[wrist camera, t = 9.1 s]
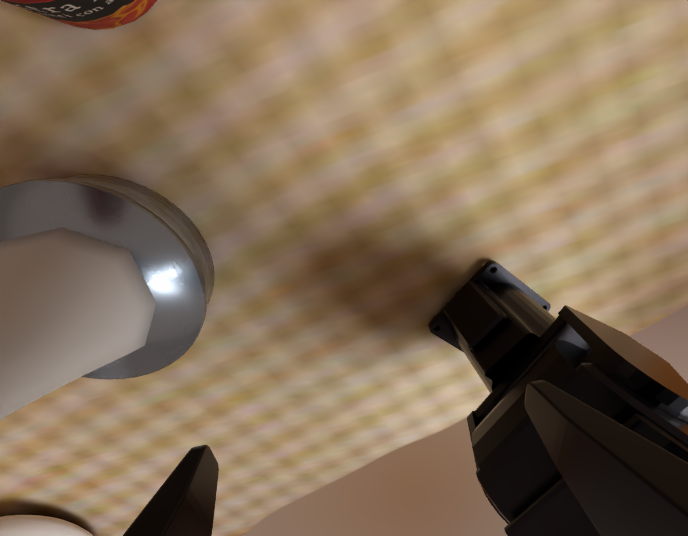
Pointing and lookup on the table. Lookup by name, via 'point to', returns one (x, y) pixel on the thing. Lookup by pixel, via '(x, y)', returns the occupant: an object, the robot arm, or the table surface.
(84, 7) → the canned food
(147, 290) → the flask
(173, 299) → the biscuit tin
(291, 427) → the table surface
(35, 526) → the flower in vase
